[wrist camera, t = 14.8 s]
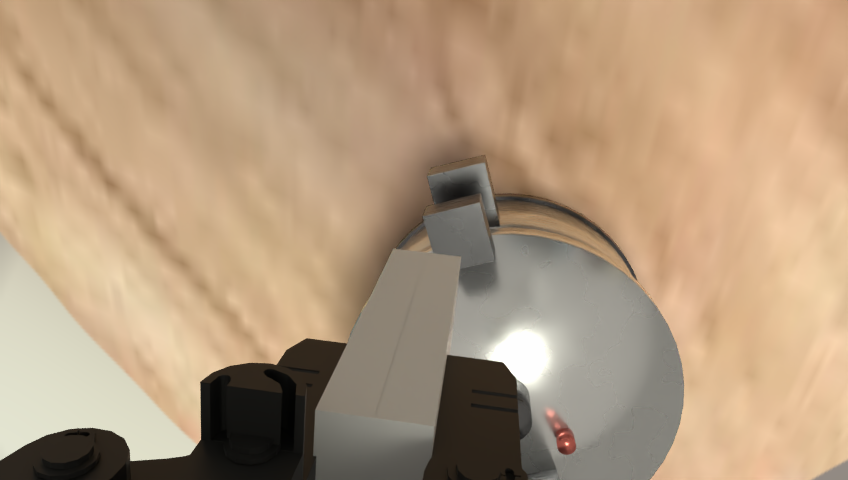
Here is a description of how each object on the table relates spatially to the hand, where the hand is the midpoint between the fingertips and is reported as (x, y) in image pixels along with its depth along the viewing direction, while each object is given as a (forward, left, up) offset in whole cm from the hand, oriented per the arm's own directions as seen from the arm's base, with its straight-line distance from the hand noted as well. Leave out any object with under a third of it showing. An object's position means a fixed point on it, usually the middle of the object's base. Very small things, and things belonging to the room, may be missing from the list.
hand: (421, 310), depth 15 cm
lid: (+16, -4, -20) cm, 26 cm away
